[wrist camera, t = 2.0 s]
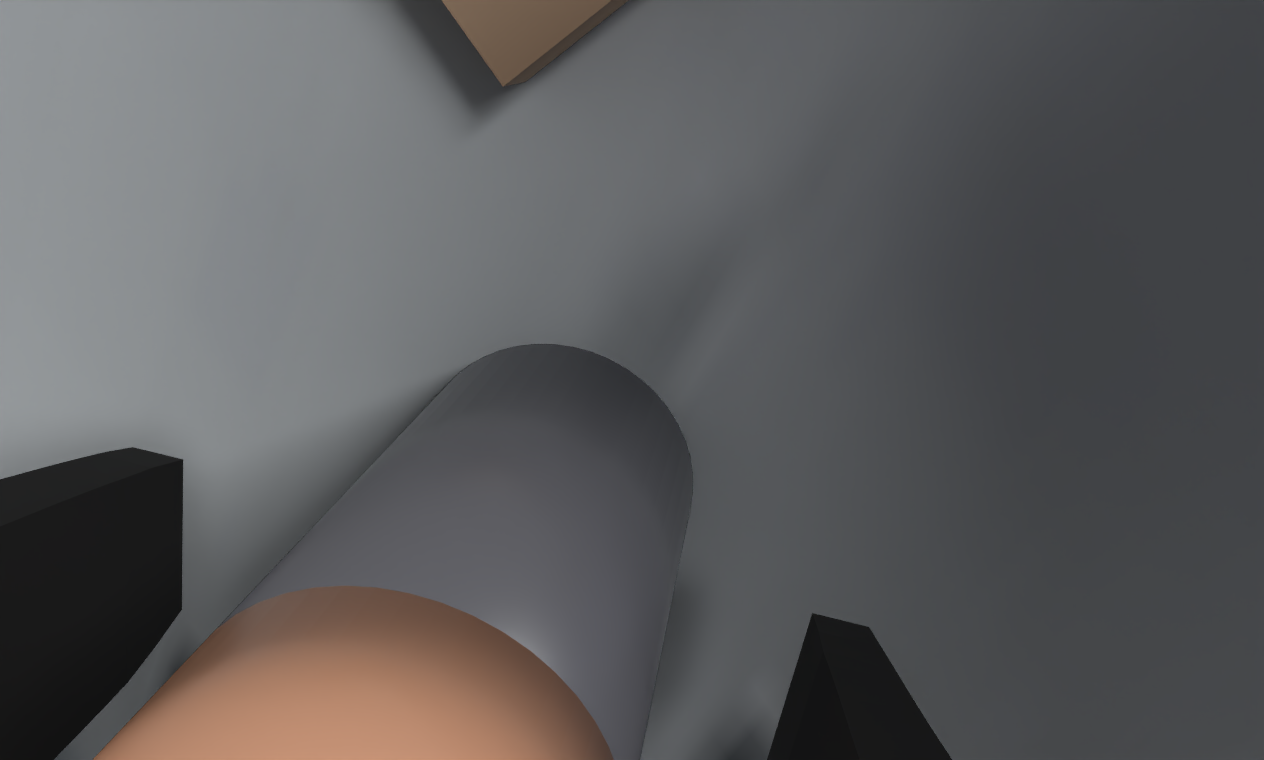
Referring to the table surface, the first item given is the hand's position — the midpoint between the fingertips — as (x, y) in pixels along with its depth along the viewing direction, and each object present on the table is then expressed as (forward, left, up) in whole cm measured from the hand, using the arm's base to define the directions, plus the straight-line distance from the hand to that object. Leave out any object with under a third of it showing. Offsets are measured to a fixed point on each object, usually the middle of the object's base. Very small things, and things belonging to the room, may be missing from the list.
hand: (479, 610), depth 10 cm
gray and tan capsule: (0, 0, -3) cm, 3 cm away
